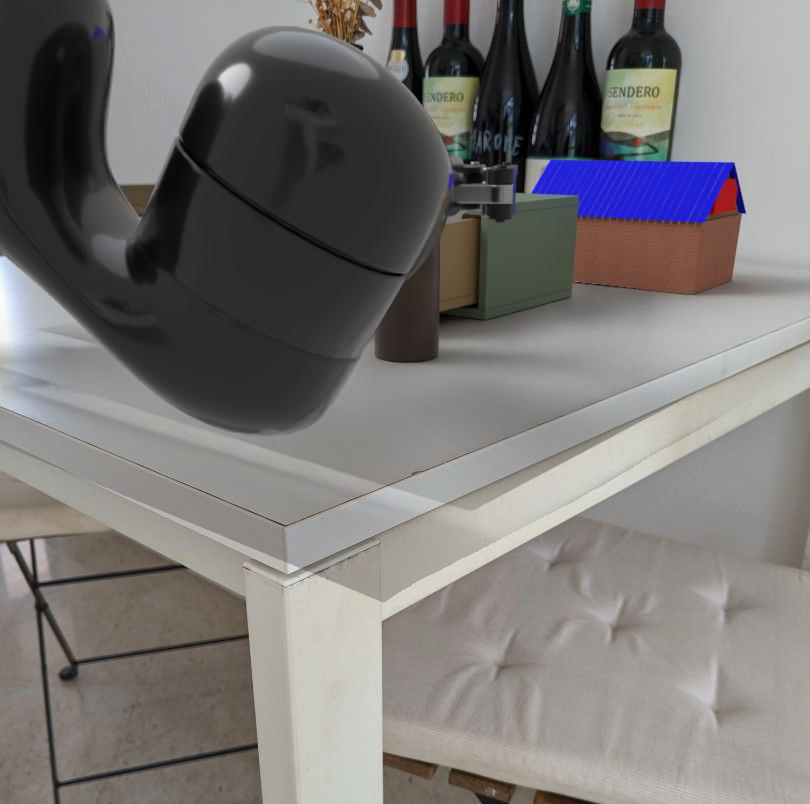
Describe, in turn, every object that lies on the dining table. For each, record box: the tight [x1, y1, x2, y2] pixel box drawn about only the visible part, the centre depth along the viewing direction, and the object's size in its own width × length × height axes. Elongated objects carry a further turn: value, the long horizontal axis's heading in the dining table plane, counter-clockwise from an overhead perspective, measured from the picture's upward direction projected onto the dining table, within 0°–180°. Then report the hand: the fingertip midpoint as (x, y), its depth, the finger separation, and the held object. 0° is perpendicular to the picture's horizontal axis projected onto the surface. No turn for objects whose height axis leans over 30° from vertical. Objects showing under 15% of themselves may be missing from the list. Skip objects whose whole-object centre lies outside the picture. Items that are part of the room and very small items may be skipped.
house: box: [530, 159, 747, 295], centre depth 90 cm, size 12×20×12 cm, turn 52°
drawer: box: [439, 214, 481, 312], centre depth 71 cm, size 18×11×7 cm, turn 140°
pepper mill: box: [373, 237, 440, 363], centre depth 58 cm, size 5×5×14 cm
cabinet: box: [439, 192, 579, 321], centre depth 79 cm, size 15×13×9 cm
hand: (399, 183), depth 53 cm, fingers open, 8 cm apart
